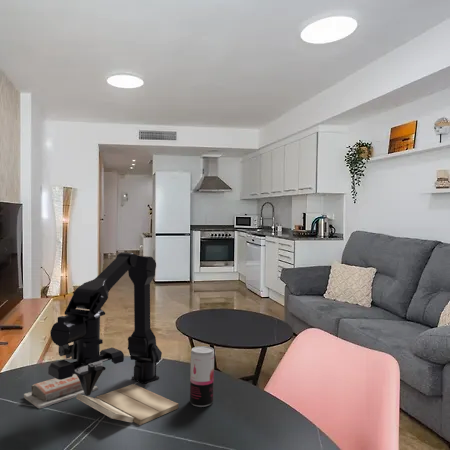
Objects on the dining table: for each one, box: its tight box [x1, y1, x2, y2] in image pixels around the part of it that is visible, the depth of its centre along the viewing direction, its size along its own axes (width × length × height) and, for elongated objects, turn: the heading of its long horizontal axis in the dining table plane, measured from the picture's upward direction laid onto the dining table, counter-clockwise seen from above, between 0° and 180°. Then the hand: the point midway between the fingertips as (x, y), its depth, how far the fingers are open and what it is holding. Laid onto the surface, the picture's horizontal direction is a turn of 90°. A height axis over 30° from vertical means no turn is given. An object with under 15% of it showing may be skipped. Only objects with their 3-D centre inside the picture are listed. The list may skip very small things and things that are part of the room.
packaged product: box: [23, 374, 99, 410], centre depth 123 cm, size 18×5×10 cm
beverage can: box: [189, 345, 215, 408], centre depth 119 cm, size 6×6×15 cm
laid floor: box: [95, 383, 180, 426], centre depth 117 cm, size 13×20×1 cm, turn 49°
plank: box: [75, 394, 134, 423], centre depth 109 cm, size 7×16×1 cm, turn 49°
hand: (87, 395), depth 110 cm, fingers closed
